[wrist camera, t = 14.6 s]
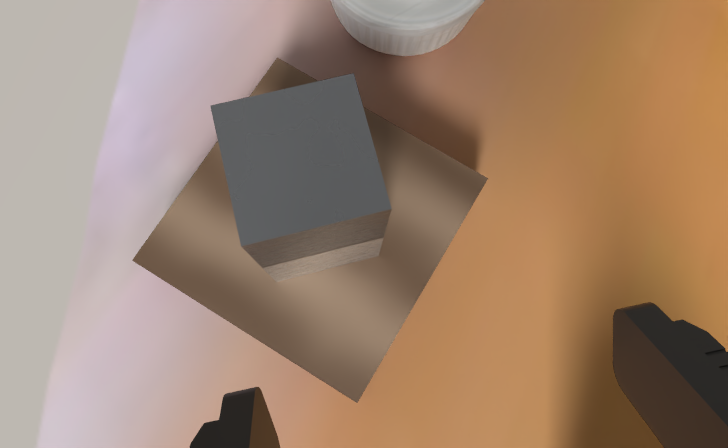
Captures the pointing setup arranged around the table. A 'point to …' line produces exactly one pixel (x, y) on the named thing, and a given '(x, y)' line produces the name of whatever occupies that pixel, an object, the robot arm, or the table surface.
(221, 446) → the robot arm
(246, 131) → the block
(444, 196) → the walnut stand
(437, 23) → the ramekin
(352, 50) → the table surface
